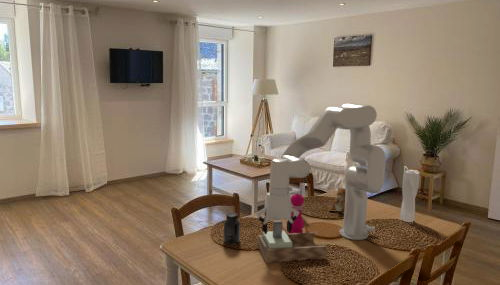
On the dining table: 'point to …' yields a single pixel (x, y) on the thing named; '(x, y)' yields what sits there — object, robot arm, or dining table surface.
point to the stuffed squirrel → (339, 200)
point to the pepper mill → (298, 222)
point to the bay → (293, 249)
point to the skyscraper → (409, 195)
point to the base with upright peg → (277, 237)
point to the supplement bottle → (232, 228)
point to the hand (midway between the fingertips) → (276, 232)
